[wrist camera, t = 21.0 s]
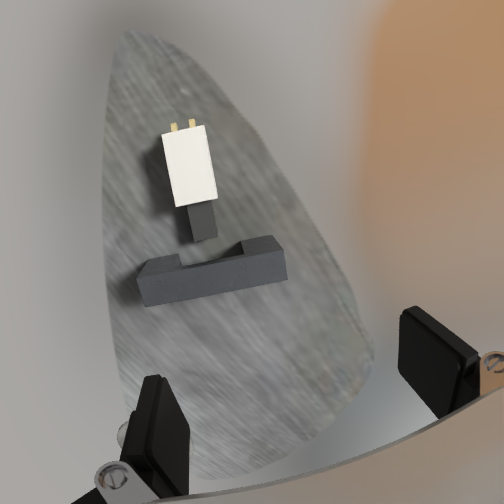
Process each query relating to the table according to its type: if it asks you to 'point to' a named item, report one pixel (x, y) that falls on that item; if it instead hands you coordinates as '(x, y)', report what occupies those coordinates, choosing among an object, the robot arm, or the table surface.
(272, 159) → the table surface
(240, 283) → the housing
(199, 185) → the plug
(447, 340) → the robot arm
